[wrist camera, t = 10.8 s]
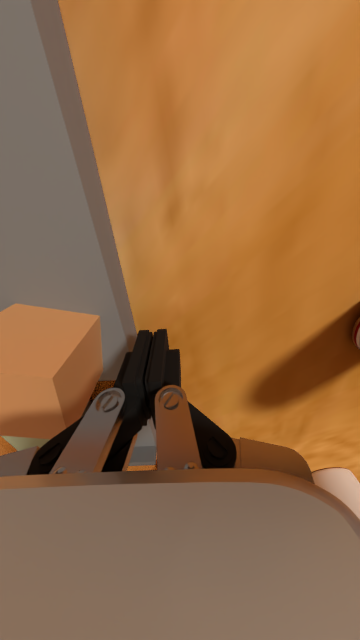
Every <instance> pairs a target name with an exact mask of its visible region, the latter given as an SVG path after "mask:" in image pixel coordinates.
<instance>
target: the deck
mask: <svg viewBox="0 0 360 640" xmlns="http://www.w3.org/2000/svg"><path fill="white" fill-rule="evenodd" d="M15 303H16V304H23V305H30V306H37V307H44V308H51V309H57V310H64V311H71V312H78V313H85V314H92V315H99V316H100V325H101V342H102V359H103V372H102V374H101V376H100V378H99V380H98V381H110V380H116V379H117V376H118V373H119V371H120V368H121V365H122V363H123V360H124V357H125V354H126V353H127V352H132V351H133V348H134V345H135V342H136V339H137V333H136V329H135V325H134V321H133V316H132V312H131V308H130V304H129V299H128V295H127V291H126V287H125V283H124V278H123V274H122V270H121V266H120V261H119V257H118V253H117V249H116V245H115V240H114V236H113V232H112V228H111V224H110V219H109V215H108V211H107V207H106V202H105V198H104V194H103V190H102V186H101V181H100V177H99V173H98V169H97V164H96V160H95V156H94V152H93V148H92V143H91V139H90V135H89V131H88V127H87V122H86V118H85V114H84V110H83V105H82V101H81V97H80V93H79V89H78V84H77V80H76V76H75V72H74V68H73V63H72V59H71V55H70V51H69V46H68V42H67V38H66V34H65V30H64V25H63V21H62V17H61V13H60V8H59V4H58V0H0V312H1V311H3V310H5V309H6V308H8V307H10V306H12V305H14V304H15ZM92 402H93V401H90V400H89V401H88V403H87V405H86V408H85V410H84V412H83V414H82V416H81V417H83V416H84V415H85V414H86V412H87V411H88V409H89V407H90V406H91V404H92ZM137 434H138V435H137V440H136V443H135V446H134V449H133V452H132V456H131V459H130V462H129V465H128V466H138V465H155V463H156V452H157V443H156V429H155V428H154V424H153V420H152V416H151V419H148V420H147V426H142V429H141V430H140V431H139V432H138V433H137ZM2 437H3V438H4V439H5V440H6V441H7V442H9V443H10V444H11V445H12V446H13V447H14V448H16V449H17V450H18V451H20V450H24V449H27V448H31V447H35V446H38V447H39V448H40V447H42V446H43V445H44V444H45V443H46V442H48V441H49V440H50V439H39V438H26V437H13V436H2Z"/></svg>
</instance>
